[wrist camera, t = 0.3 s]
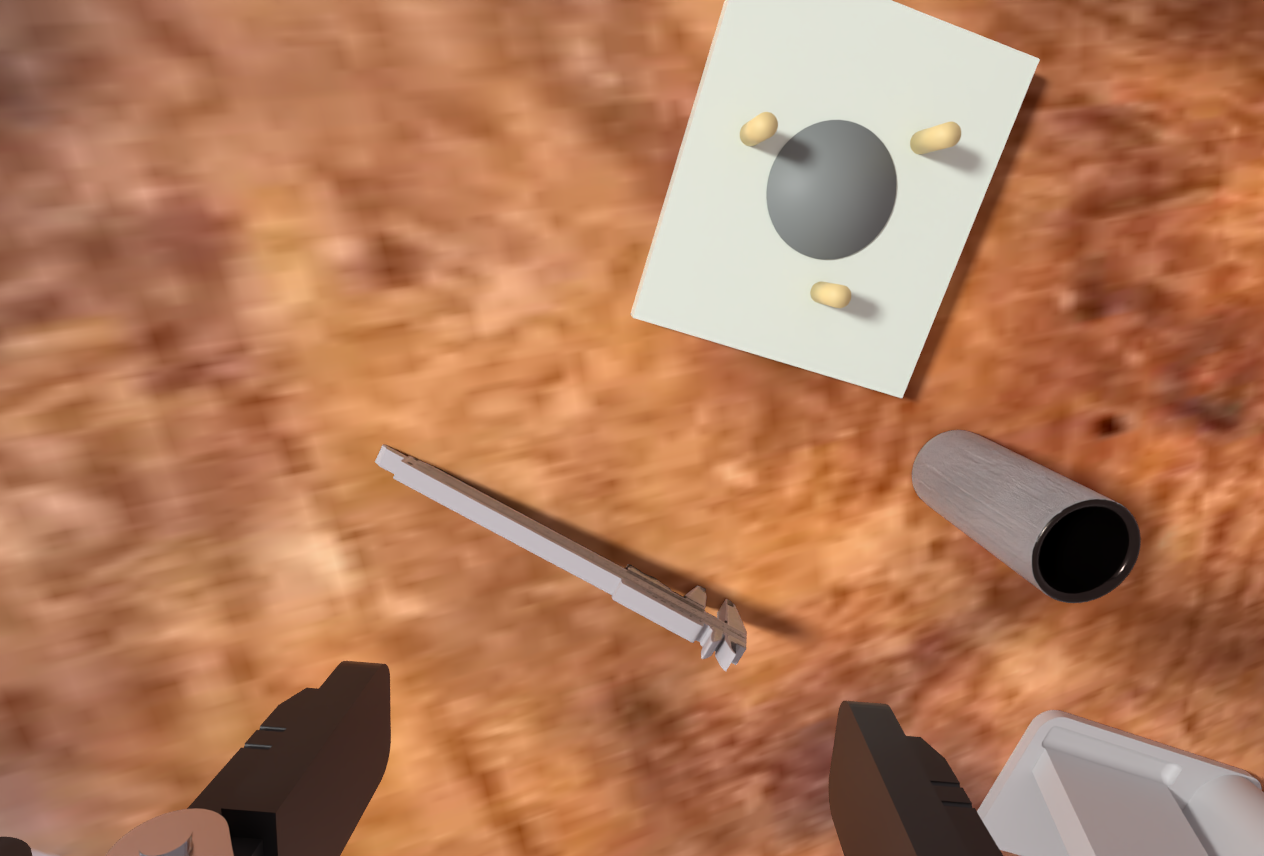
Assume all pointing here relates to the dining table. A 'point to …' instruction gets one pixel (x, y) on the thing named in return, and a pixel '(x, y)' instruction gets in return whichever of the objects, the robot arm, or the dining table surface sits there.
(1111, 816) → the phone holder
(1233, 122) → the dining table surface
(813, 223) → the board
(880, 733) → the robot arm
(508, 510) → the caliper
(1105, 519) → the grey metal tumbler
